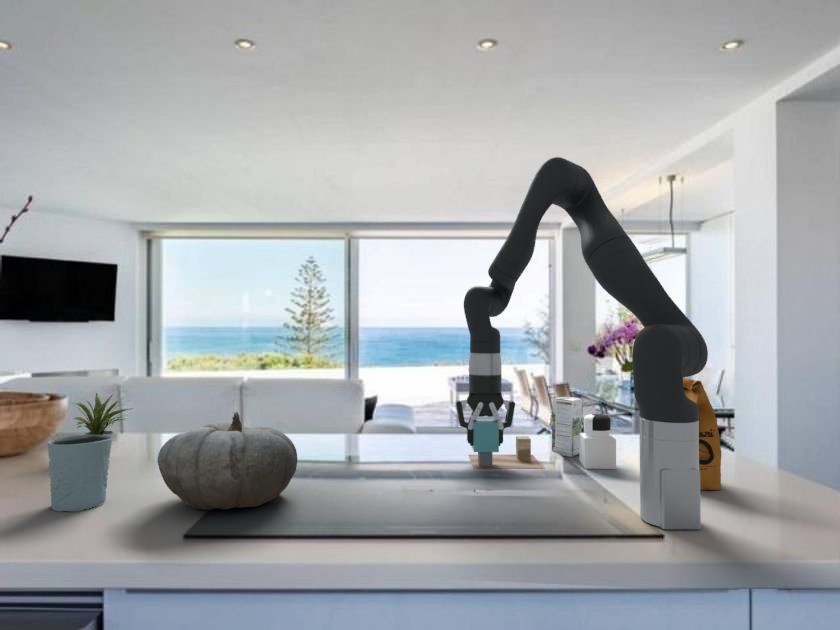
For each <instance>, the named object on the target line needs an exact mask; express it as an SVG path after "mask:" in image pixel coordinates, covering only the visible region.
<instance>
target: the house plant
mask: <svg viewBox="0 0 840 630" xmlns="http://www.w3.org/2000/svg"><path fill="white" fill-rule="evenodd" d="M113 395H114V393H112V394H111V395H110V396H109V397H108V398H107V399H106V400H105V401H104V403H102V402H101V398H100V397H98V393H97V392H95V397H94V408H93V405H92V404H91V403H90V401H88V400H86V399H84V402H87V403H88V405H89V406H90V408H91V410H90V409H89V408H88V407H87V405H86V404H84V403H82V402H81V401H79V402H76V403H75V402H74V403H73V402H72V403H70V404H72V405H73V406H74V407H76V408H77V409H78V410H79V411H80V413H82V414H83V415H84V417H85V418H83V417H81V416H76V417H73V418H72V420H76V421H78V422H77V424H76V426H77V428H81V427H82V425H83V424H85V425H84V427H85V428H87V430H89V431H87V432H84V433H81V435H108V436H111V437H112V441H113V439H114V433H115V431H113V430H107V429H108V427H109V426H111V425H112V426H114V423H115V422H117V421H125V422H126V421H128V420H127V419H126V418H125V417H126V416H128V414H124V415H121V416H116V417H114V416H115V415H117V414H121V413H123V412H125V411H129V410H133V409H134V408H132V407H131V408H123V409H119V410H115V409H116V408H117V407H119V406H120V404H121V406H125V405H126V404H122V403H125V402H127V400H125V401H122V400H123V399H124V397H123V398H120V399H117V400H116V401H115V402H113V403H112V404H111V405H110V406H109V407H108V408H107V409H106V407H107V405H108V403H109V402H110V400H111V398H112V397H113ZM120 401H121V402H120ZM130 401H131V400H129V402H130ZM118 402H119V403H118ZM76 405H78V407H77V406H76ZM79 407H80V408H81V409H82V410H83V411H82V410H81V409H80V408H79ZM105 410H106V411H105ZM114 410H115V411H114ZM91 411H92V412H91ZM124 416H125V417H124ZM112 445H113V442H112V443H111V447H112Z"/></svg>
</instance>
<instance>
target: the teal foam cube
mask: <svg viewBox="0 0 840 630" xmlns="http://www.w3.org/2000/svg"><path fill="white" fill-rule="evenodd" d="M499 447H500V446H499V423H498V422H496V421H495V420H494V418H477V420H476V422H473V446H471V448H472V451H473V452H474V453H478V452H492V453H500V449H499Z"/></svg>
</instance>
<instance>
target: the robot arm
mask: <svg viewBox="0 0 840 630" xmlns="http://www.w3.org/2000/svg"><path fill="white" fill-rule="evenodd" d="M552 205H555V206H558V207H560V208H562V209H563V210H564V211H565V212H566V213H567V215H568V216H569V217H570V219H572V221H573V222H574V224H575V225H576V226H577V229H578V231H579V235H580V245H581V246H580V247H581V253H582V256H583V259H584V262H585V264H586V265H587V267H588V268H589V270H590V272H591V273H592V275H593V276H594V278H595V280H596V281H597V283H598V284H599V285H600V286H601V288H602V289H603V290H604V291H605V292H607V294H608V295H610V296H611V297H612V298H613V299H615V301H617V302H618V303H619V304H621V305H622V306H623V307H625V308H626V309H627V310H628V311H629V312H630V313H632V314H633V316H635V317H636V318H637V320H638V321H639V322H640V323H641V325H642V327H643V328H642V329H641V330H639V332H638V333H637V334H636V337H635V338H634V341H633V345H632V352H631V353H632V355H631V356H632V357H631V358H632V376H633V377H632V378H633V379H632V380H633V393H634V398H635V401H636V403H637V407H638V410H639V411H638V412H639V504H640V506H639V507H640V509H639V510H640V511H639V514H640V519H641V520H642V521H644V522H645V523H647V524H651V525H653V526H657V527H659V528H661V529H662V530H701V529H702V528H701V527H702V524H701V522H702V519H701V509H702V508H701V507H702V506H701V490H700V471H699V409H698V405H697V404H696V403H695V402H694V401H692V400H690V399H689V398H688V397H687V396H686V394H685V392H684V385H683V378H687V377H691V376H695V375H697V374H700V373H701V372H702V371H703V369H705V367H706V365H707V362H708V356H709V349H708V346H707V344H706V341H705V338H704V336H703V335H702V333H701V331H699V330H698V328H697V327H696V325H694V324H693V322H692V321H691V320H690V319H689V318H688V316H686V314H685V313H684V312H683V311H682V309H681V308H679V306H678V305H677V304H676V302H674V300H673V299H672V298H671V296H670V295H669V294H668V293H667V291H666V290H665V288H664V286H663V284H661V282H660V281H659V279H658V277H657V276H656V275H655V274H654V272H653V271H652V269H651V268H650V267H649V265H648V264H647V262H646V260H645V258H644V257H643V255H642V254H641V252H640V251H639V249H638V248H637V246H636V245H635V243H634V241H633V240H632V239H631V238H630V236H629V235H628V234H627V232H626V231H625V230H624V228H623V227H622V225H621V224H620V223H619V221H618V220H617V218H616V216H614V214H613V213H612V212H611V211H610V209H609V208H608V206H607V205H606V203H605V201H604V200H603V198H602V195H601V193H600V192H599V189H598V187H597V184H596V183H595V181H594V180H593V177H592V176H591V174H590V173H589V172H588V170H587V169H585V167H583V166H582V165H580V164H577V163H575V162H573V161H570V160H568V159H565V158H563V157H560V156H553V157H551V158H548V159H546V160H545V161H544V162H543V163H542V164H541V165H540V166H539V168H538V170H537V171H536V173H535V174H534V177H533V178H532V181H531V184H530V185H529V188H528V190H527V192H526V195H525V198H524V199H523V202H522V204H521V207H520V208H519V211H518V214H517V216H516V218H515V221H514V223H513V225H512V227H511V230H510V232H509V234H508V236H507V237H506V240H505V241H504V243H503V244H502V246H501V248H500V250H498V252H497V254H496V256H495V257H494V259H493V260H492V262H491V264H490V265H489V267H488V269H487V270H488V271H487V273H488V276H489V278H490V279H491V283H490V284H489V286H481V285H477V286H476V285H475V286H472V287H470V288H469V289H468V290H467V292H466V293H465V296H464V299H463V311H464V316H465V319H466V324H467V328H468V332H469V336H470V337H469V361H468V395H467V396H468V397H467V398H466V399H463V400H460V399H457V400H455V407H456V408H455V409H456V411H457V413H456V414H457V418H458V423H459V426H460V428H465V429H466V434H467V435H466V441H467V443H468V444H469V446H470V447H472V446H473V422H476V420H477V419H479V417H480V418H481V417H482V418H483V417H489V418H491V417H493V418H492V419H494V420H495V421H496V422H498V423H499V447H501V444H503V443H504V430H505V429H506V428H511V427H512V424H513V418H514V413H515V408H516V403H515V401H513V400H511V399H510V400H506V399H504V398H503V395H502V358H501V357H502V356H501V332H500V330H499V329H497V328H496V327H493V325H492V322H491V318H495V317H498V316H499V315H501V314H502V313H503V312H505V310H506V309H507V308H508V306H509V304H510V302H511V301H510V300H511V299H512V295H513V292H514V290H515V287H516V283H517V281H518V280H519V278H520V277H521V276H522V274H523V273H524V271H525V270H526V268H527V267H528V265H529V263H530V261H531V260H532V257H533V255H534V251H535V248H536V242H537V241H536V239H537V234H538V229H539V226H540V223H541V221H542V219H543V217H544V216H545V214H546V212H547V211H548V210H549V208H550V207H551V206H552ZM467 405H468V406H469V408H470V409H471V410H472V411H471V412H470V416H469V419H468V421H465V416H464V410H465V409H466V406H467ZM503 405H504V409H506V414H505V420H504V421H502V420H501V417H500V414H499V412H498V411H499V410H500V409H501V408H502V406H503Z"/></svg>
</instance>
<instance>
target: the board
mask: <svg viewBox="0 0 840 630" xmlns="http://www.w3.org/2000/svg"><path fill="white" fill-rule="evenodd" d="M531 439H532V438H530V437H529V436H520V435H519V436H515V454H492V466H479V464H478V454H468V458H469V460H470V463H471V466H472V468H473V470H545V469H546V468H545V467H544V465H542V464H541V463H540V461H539V460H538V459H537V458H536V457H535V456H534V455H533V454H532V453H531V452H532V448H531V447H532V446H531V445H532V444H531V443H532V440H531Z"/></svg>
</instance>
